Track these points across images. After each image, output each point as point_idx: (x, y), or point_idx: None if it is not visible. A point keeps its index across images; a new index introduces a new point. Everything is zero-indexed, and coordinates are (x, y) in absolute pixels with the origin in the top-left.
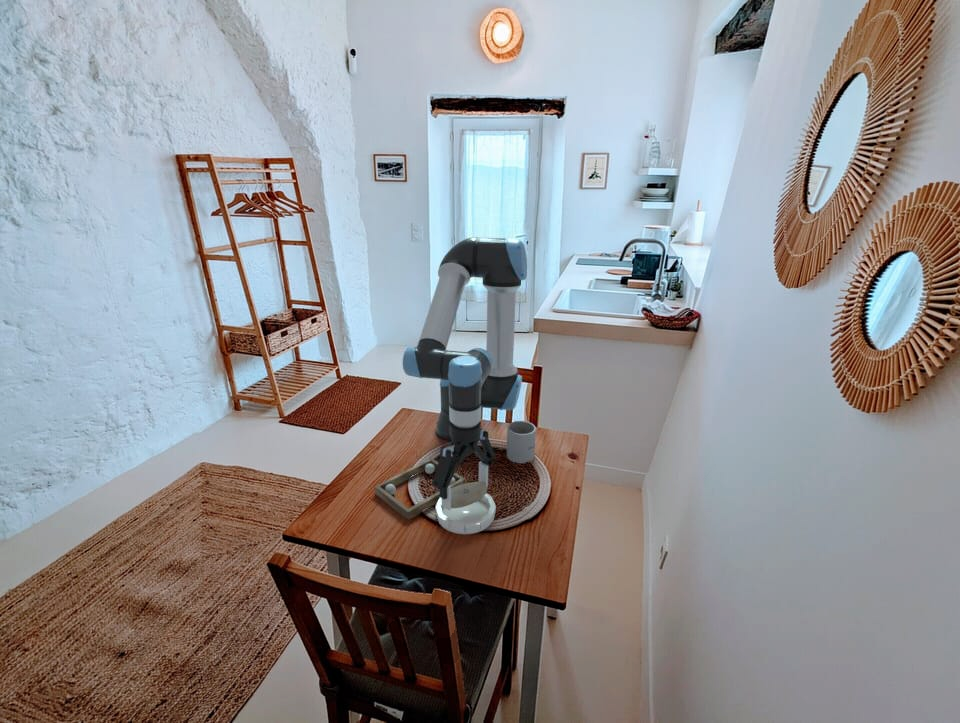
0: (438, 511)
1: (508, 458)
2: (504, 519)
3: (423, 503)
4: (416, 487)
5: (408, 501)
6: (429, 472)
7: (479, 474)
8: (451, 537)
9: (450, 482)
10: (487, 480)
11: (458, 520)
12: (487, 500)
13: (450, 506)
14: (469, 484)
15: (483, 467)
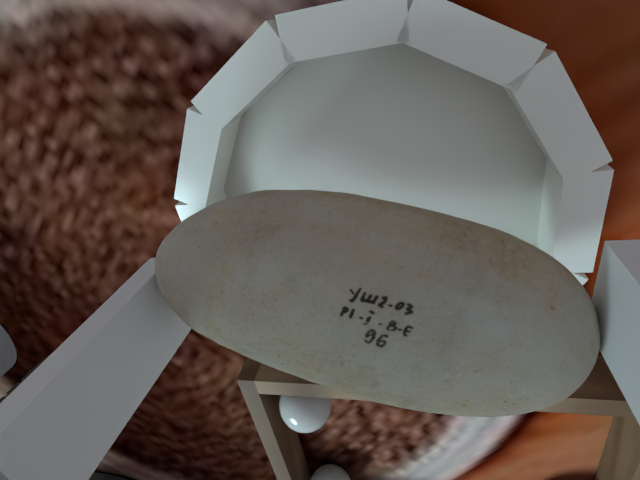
0: None
1: (12, 347)
2: (193, 3)
3: None
4: (435, 455)
5: (533, 429)
6: (343, 478)
7: (146, 382)
8: (618, 84)
9: (313, 404)
10: (115, 297)
11: (468, 178)
12: (213, 193)
13: (635, 263)
14: (292, 356)
15: (40, 447)
